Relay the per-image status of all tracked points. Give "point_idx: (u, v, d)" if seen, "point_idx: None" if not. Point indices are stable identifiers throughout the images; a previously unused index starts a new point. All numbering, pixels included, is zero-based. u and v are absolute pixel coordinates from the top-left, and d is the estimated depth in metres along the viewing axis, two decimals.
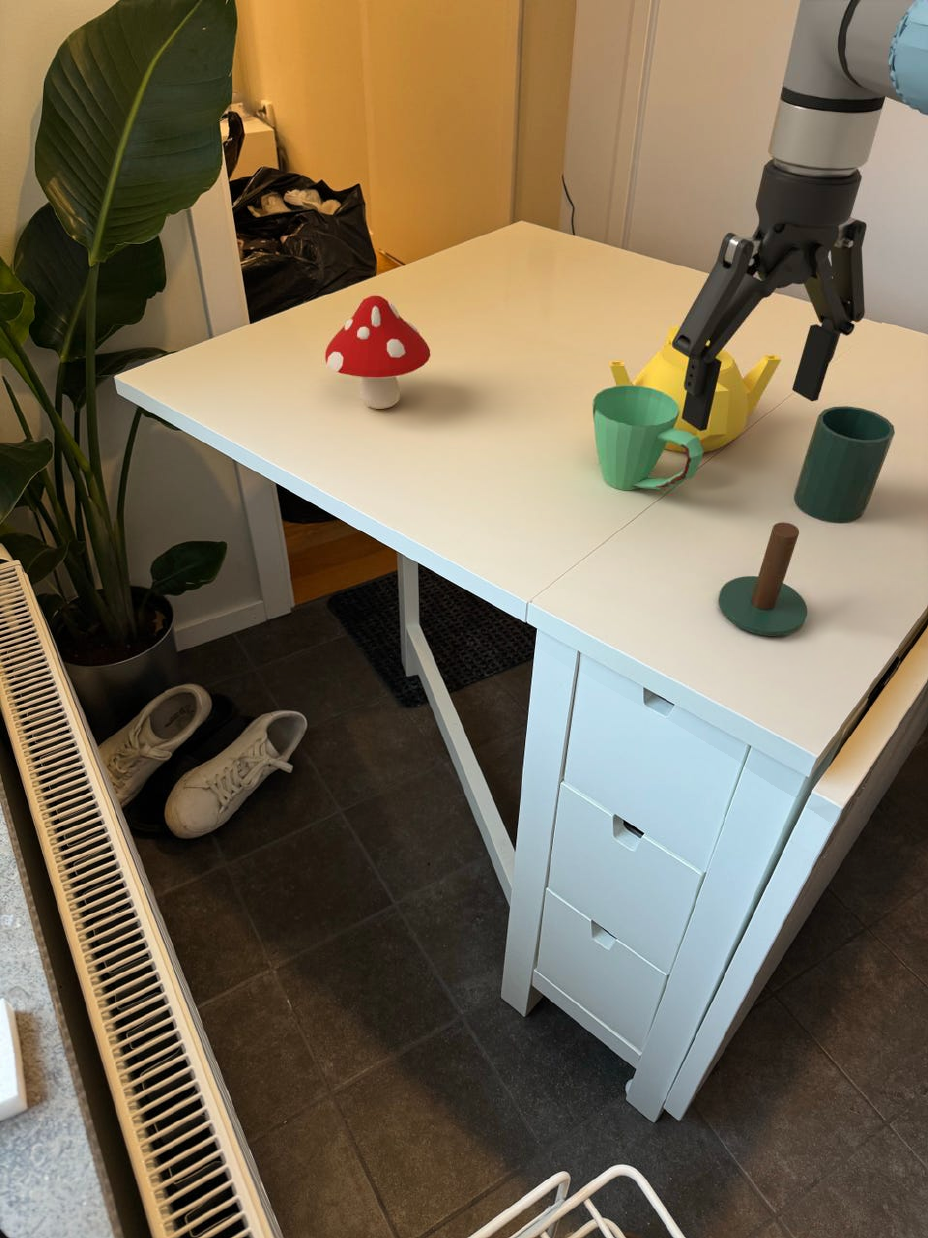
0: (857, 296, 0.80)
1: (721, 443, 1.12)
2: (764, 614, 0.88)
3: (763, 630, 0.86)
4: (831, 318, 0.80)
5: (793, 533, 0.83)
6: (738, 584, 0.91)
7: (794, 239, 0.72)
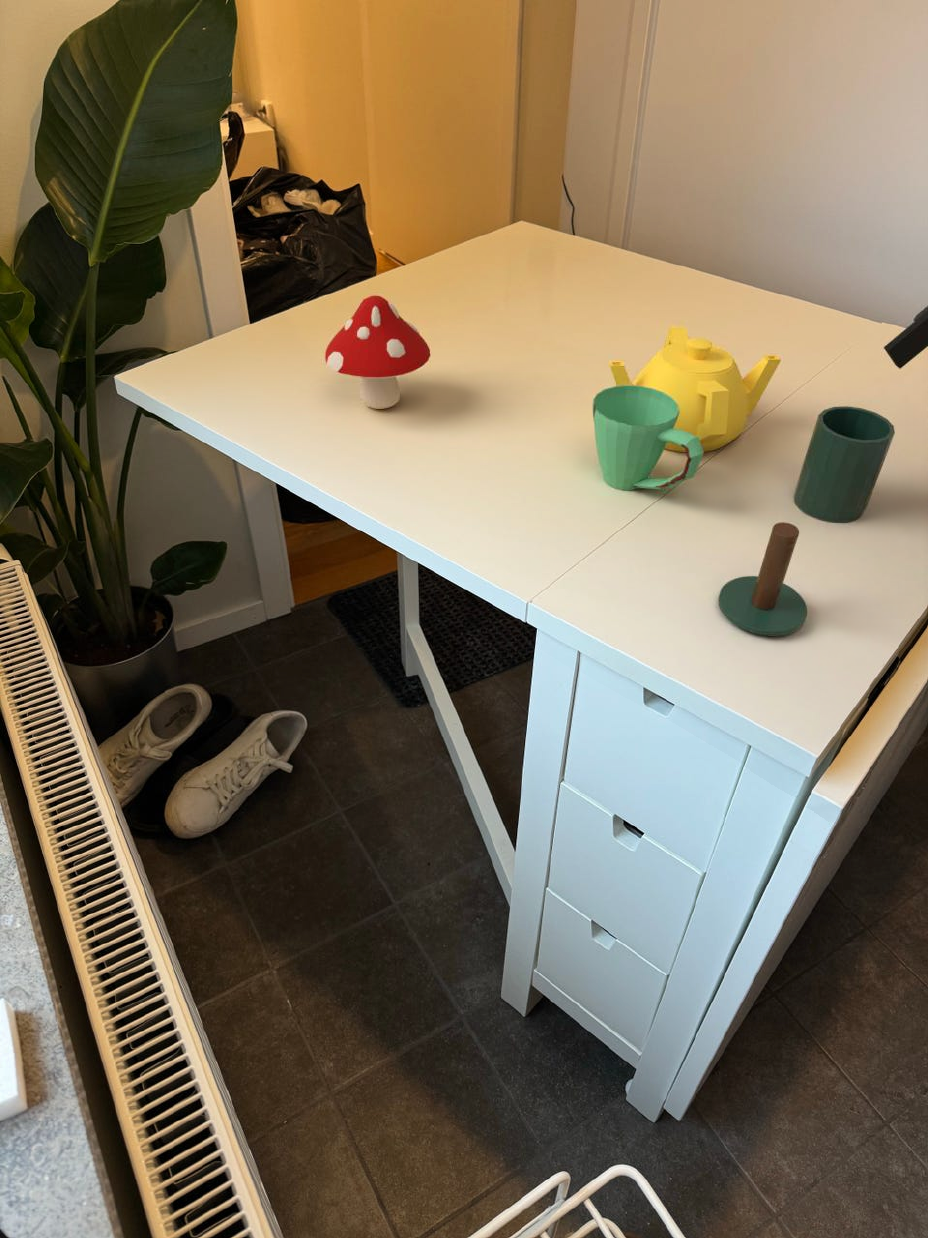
0: None
1: (721, 443, 1.12)
2: (764, 614, 0.88)
3: (763, 630, 0.86)
4: None
5: (793, 533, 0.83)
6: (738, 584, 0.91)
7: None
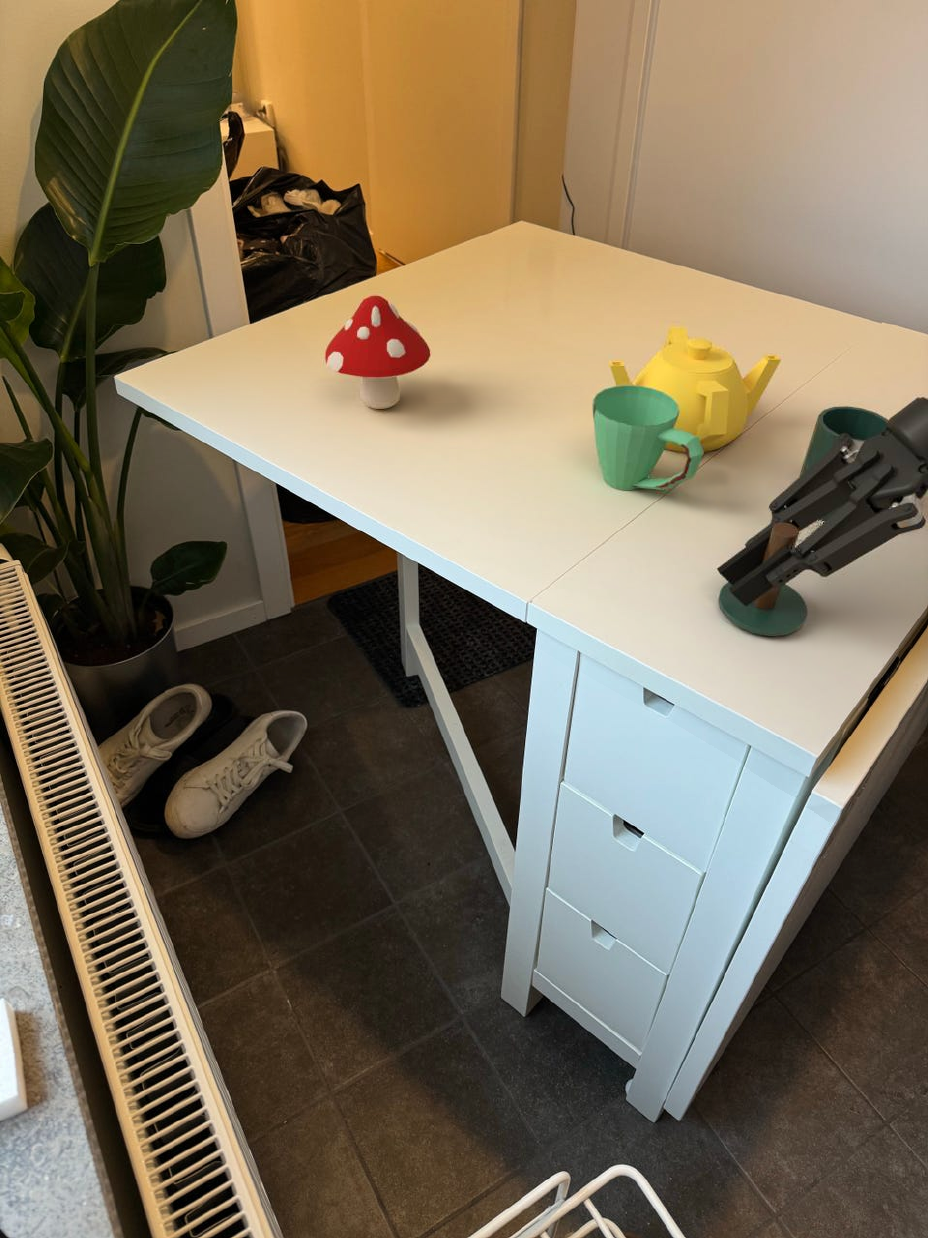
0: (835, 543, 0.80)
1: (721, 443, 1.12)
2: (764, 614, 0.88)
3: (763, 630, 0.86)
4: None
5: (793, 533, 0.83)
6: None
7: (885, 451, 0.81)
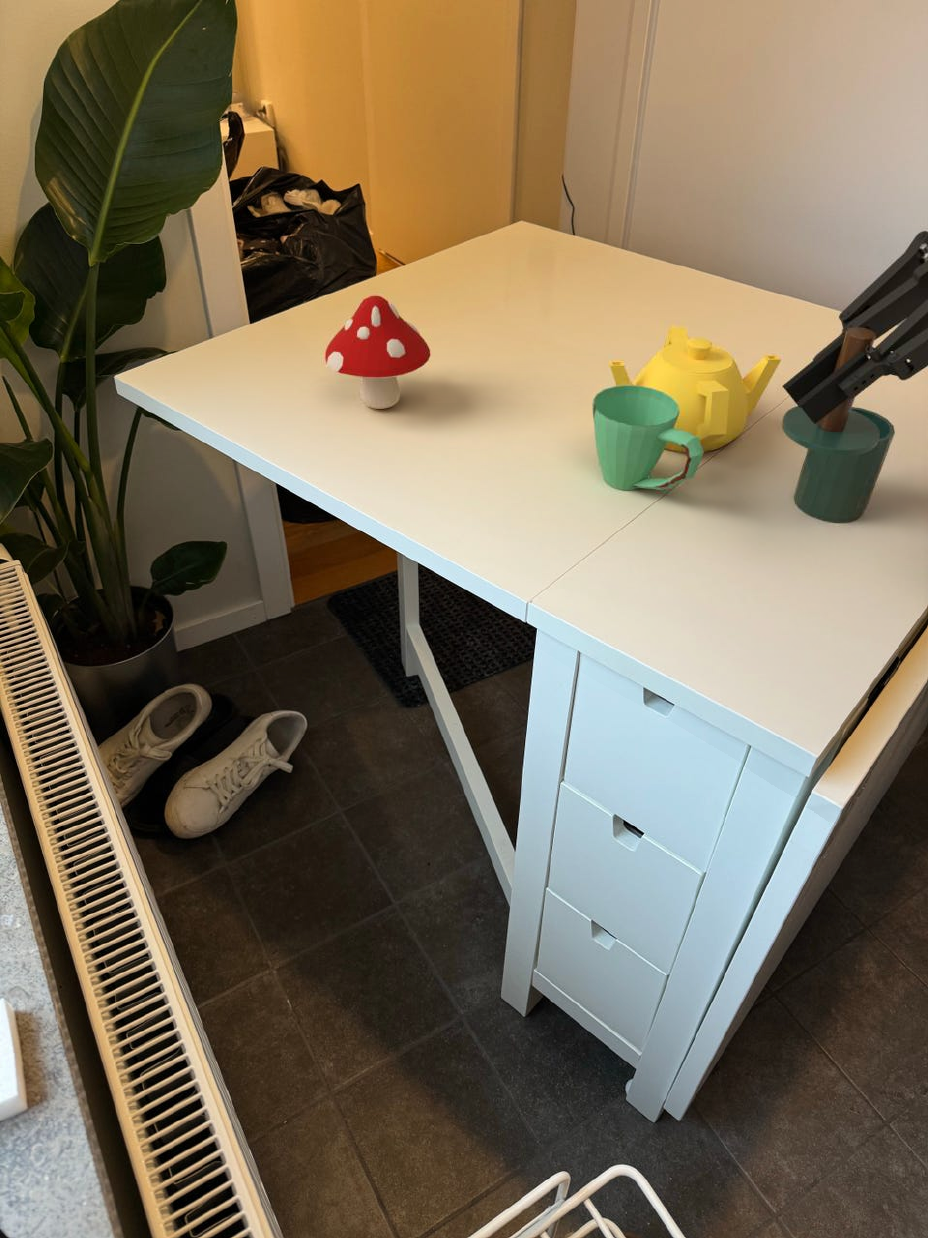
0: (919, 337, 0.73)
1: (721, 443, 1.12)
2: (833, 435, 0.81)
3: (834, 449, 0.80)
4: None
5: (869, 335, 0.76)
6: (802, 410, 0.85)
7: None
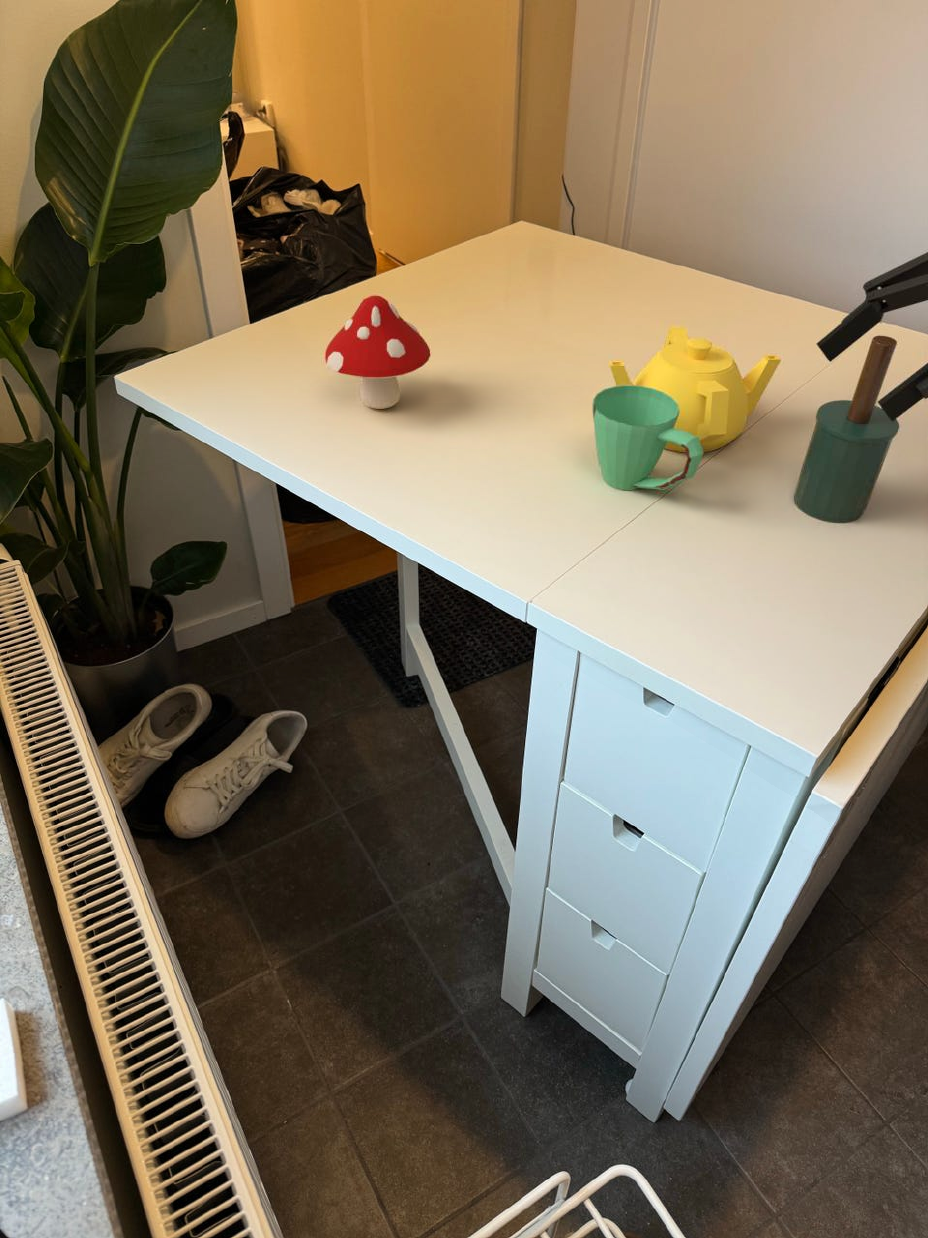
0: None
1: (721, 443, 1.12)
2: (860, 426, 0.96)
3: (861, 437, 0.95)
4: None
5: (892, 342, 0.91)
6: (833, 405, 1.00)
7: None
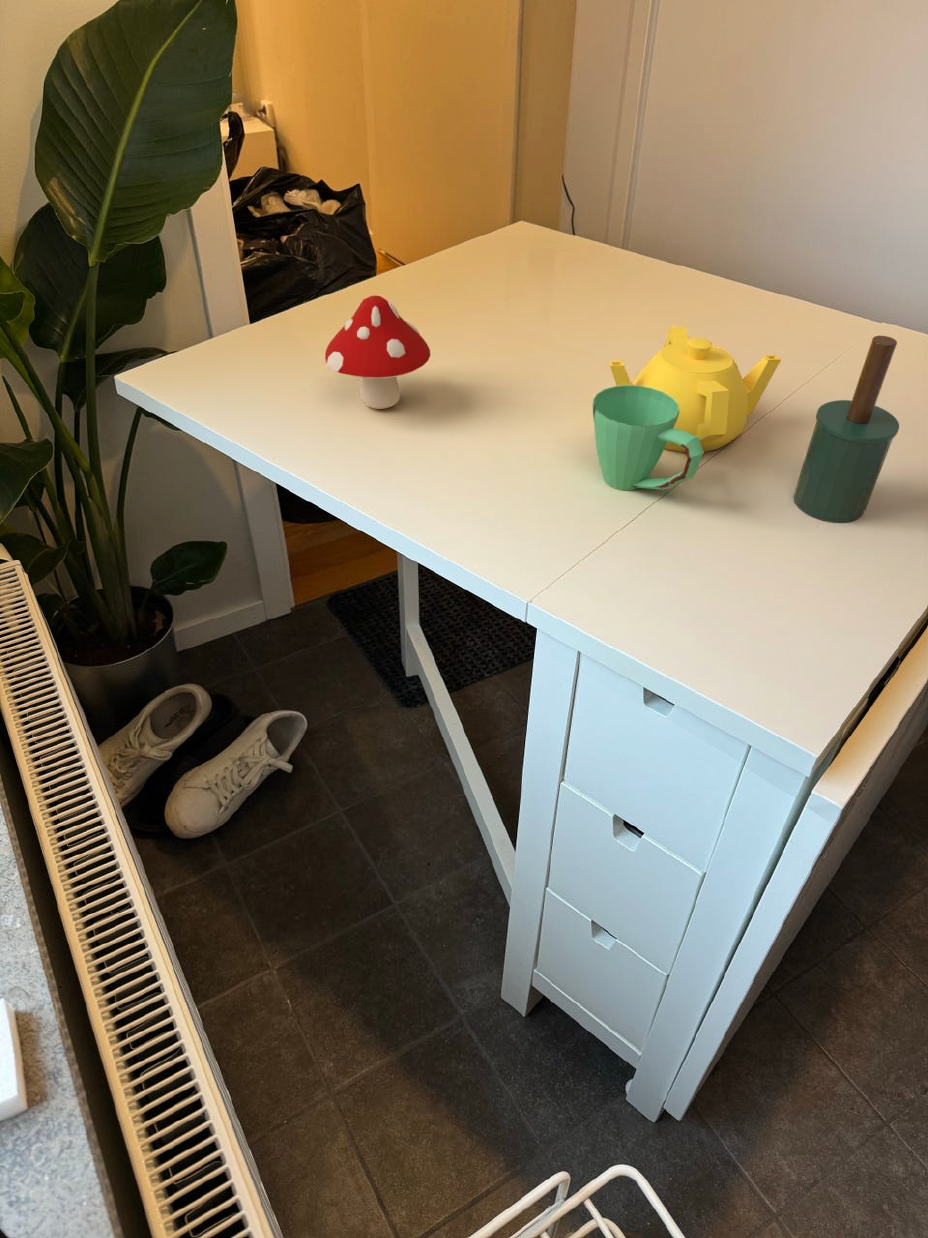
0: None
1: (721, 443, 1.12)
2: (860, 426, 0.96)
3: (861, 437, 0.95)
4: None
5: (892, 342, 0.91)
6: (833, 405, 1.00)
7: None
